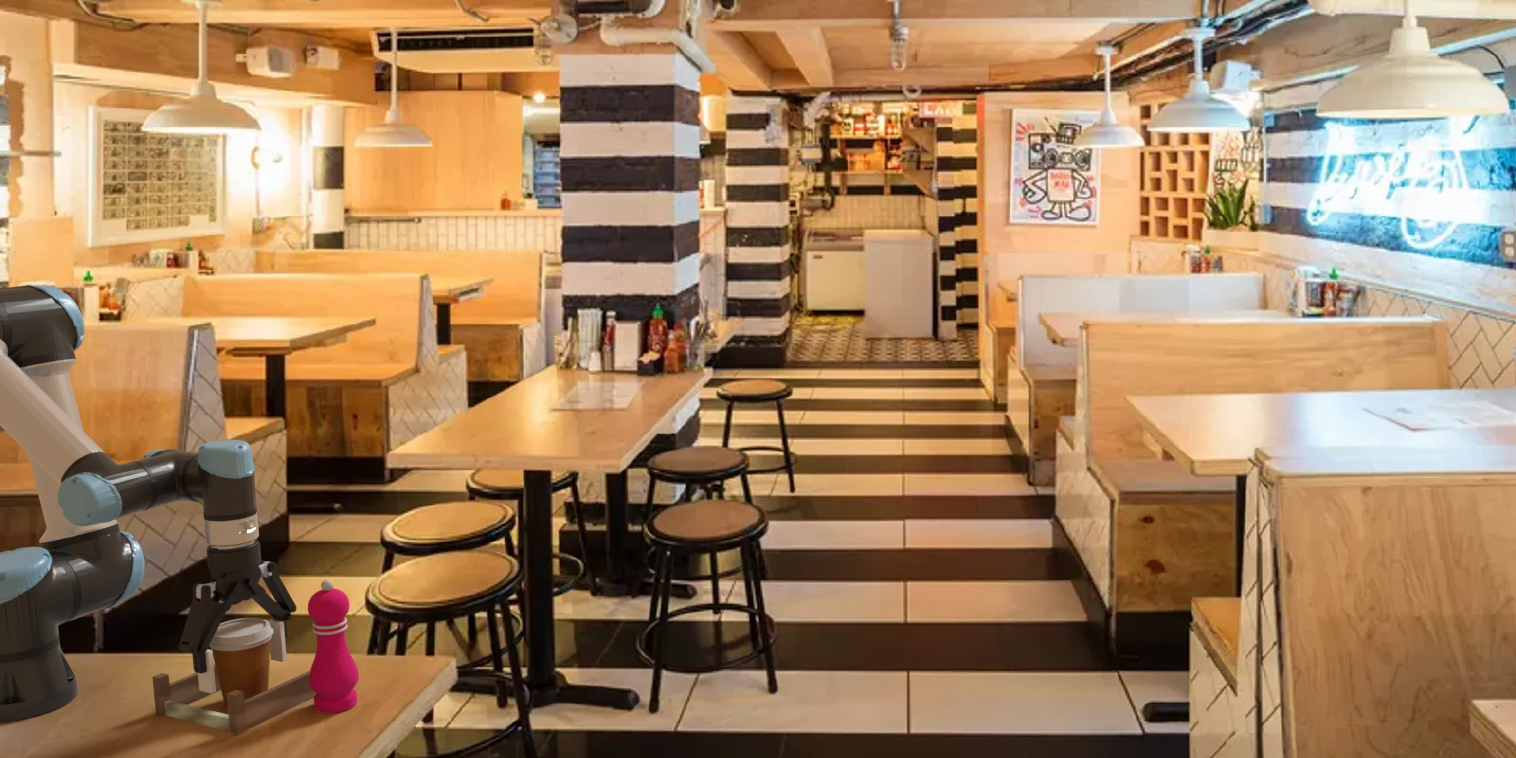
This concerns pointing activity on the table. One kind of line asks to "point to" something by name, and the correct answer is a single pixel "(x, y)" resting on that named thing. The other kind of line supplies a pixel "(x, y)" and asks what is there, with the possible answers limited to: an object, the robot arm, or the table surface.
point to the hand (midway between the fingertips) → (244, 675)
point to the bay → (241, 713)
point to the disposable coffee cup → (242, 656)
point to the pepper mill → (331, 652)
